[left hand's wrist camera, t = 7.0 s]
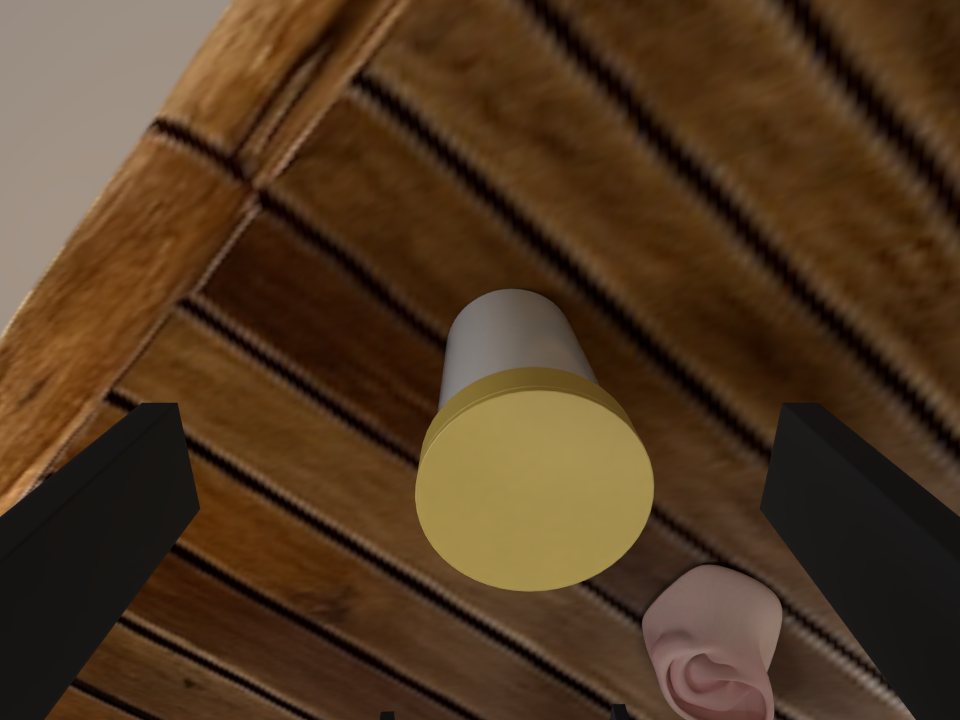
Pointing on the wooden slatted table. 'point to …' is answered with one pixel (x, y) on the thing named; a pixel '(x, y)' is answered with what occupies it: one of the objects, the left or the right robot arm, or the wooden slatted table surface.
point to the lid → (533, 480)
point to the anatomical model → (714, 644)
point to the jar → (509, 340)
